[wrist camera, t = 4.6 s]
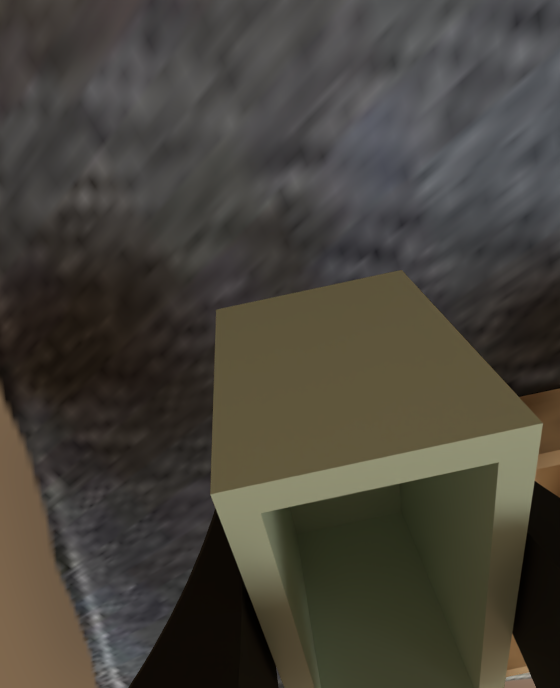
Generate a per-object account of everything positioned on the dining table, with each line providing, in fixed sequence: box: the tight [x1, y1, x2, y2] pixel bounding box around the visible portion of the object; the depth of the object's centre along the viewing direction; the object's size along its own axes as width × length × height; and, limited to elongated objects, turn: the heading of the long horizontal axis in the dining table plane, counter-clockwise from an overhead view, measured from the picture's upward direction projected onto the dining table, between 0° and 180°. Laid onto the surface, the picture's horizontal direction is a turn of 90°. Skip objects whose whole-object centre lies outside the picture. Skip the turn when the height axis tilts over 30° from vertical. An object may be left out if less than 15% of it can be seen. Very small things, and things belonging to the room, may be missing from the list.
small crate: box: [210, 270, 543, 688], centre depth 11 cm, size 5×9×6 cm, turn 10°
